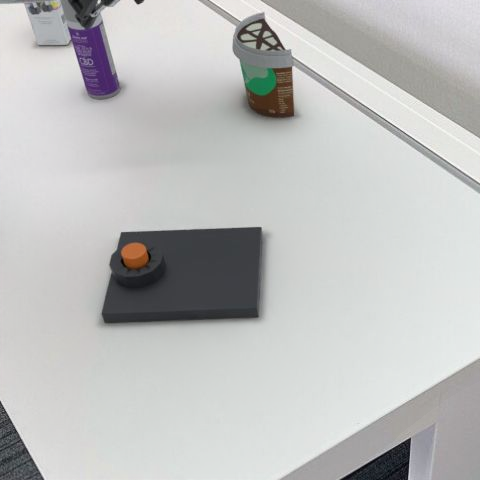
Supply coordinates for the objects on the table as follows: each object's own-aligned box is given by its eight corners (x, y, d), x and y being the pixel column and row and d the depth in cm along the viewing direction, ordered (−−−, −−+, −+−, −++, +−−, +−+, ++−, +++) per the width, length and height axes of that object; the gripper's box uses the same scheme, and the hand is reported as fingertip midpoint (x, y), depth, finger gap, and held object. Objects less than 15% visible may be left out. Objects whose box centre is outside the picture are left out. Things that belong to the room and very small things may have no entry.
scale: (104, 323, 79) (96, 303, 77) (123, 241, 88) (117, 220, 86) (258, 317, 80) (255, 296, 77) (262, 235, 88) (260, 215, 86)
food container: (229, 87, 110) (219, 18, 103) (270, 78, 112) (263, 10, 104) (254, 131, 103) (245, 60, 95) (297, 121, 104) (292, 51, 96)
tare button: (122, 270, 81) (119, 259, 80) (126, 253, 83) (123, 242, 82) (147, 269, 81) (144, 258, 80) (150, 252, 83) (147, 242, 82)
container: (87, 101, 108) (54, -6, 97) (87, 84, 111) (56, -22, 100) (120, 96, 109) (92, -10, 97) (120, 80, 112) (92, -26, 101)
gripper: (124, -13, 81) (84, 58, 94) (218, -57, 88) (168, 15, 102) (78, -78, 79) (43, 3, 93) (177, -117, 87) (133, -37, 100)
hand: (109, 9), depth 97 cm, fingers open, 8 cm apart
